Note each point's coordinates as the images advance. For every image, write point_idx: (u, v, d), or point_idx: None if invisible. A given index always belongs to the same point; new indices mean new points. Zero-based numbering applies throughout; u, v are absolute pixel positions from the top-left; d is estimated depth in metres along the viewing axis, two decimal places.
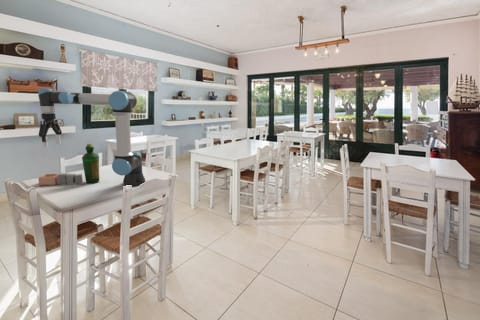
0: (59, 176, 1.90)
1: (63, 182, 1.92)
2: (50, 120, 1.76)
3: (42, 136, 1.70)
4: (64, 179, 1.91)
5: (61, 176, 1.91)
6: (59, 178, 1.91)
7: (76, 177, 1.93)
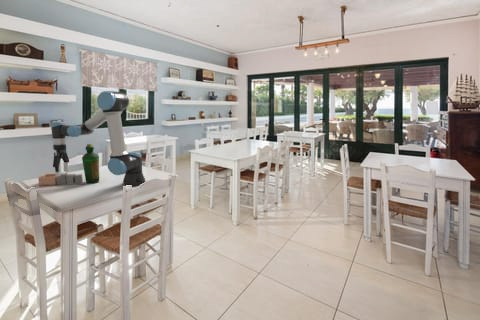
0: (59, 176, 1.90)
1: (63, 182, 1.92)
2: (61, 150, 1.89)
3: (56, 166, 1.83)
4: (64, 179, 1.91)
5: (61, 176, 1.91)
6: (59, 178, 1.91)
7: (76, 177, 1.93)
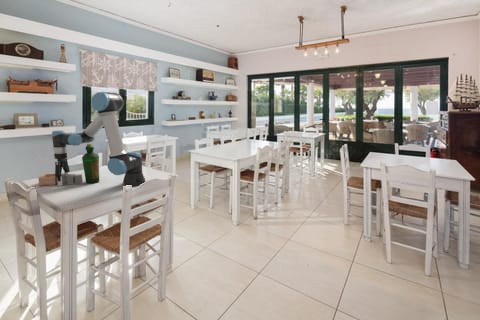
0: None
1: (63, 182, 1.92)
2: (62, 159, 1.90)
3: (58, 176, 1.85)
4: (64, 179, 1.91)
5: None
6: None
7: (76, 177, 1.93)
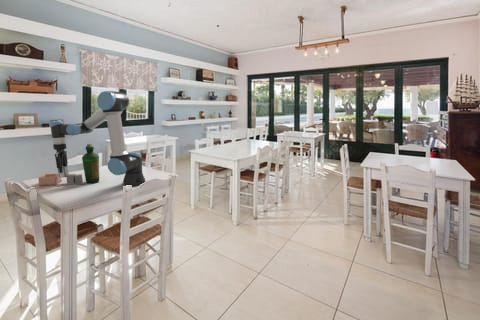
0: None
1: None
2: (61, 150, 1.89)
3: (60, 167, 1.87)
4: (64, 172, 1.90)
5: None
6: None
7: (76, 177, 1.93)
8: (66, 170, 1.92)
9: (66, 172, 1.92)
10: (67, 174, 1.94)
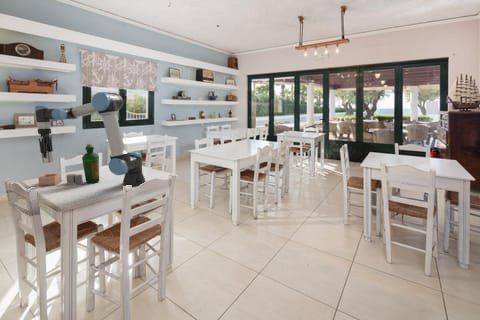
0: None
1: None
2: (46, 135, 1.86)
3: (44, 152, 1.84)
4: (48, 157, 1.87)
5: None
6: None
7: (76, 177, 1.93)
8: (50, 155, 1.89)
9: (50, 157, 1.89)
10: (51, 159, 1.91)
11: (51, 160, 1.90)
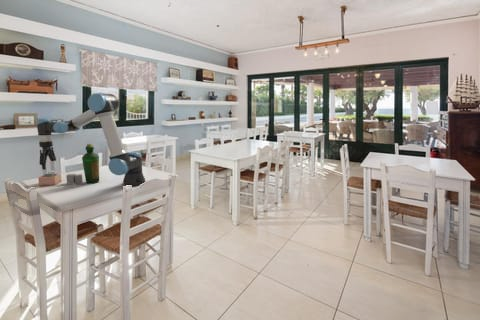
0: (45, 175, 1.89)
1: None
2: (48, 147, 1.88)
3: (43, 164, 1.82)
4: None
5: (47, 175, 1.90)
6: None
7: (76, 177, 1.93)
8: (53, 176, 1.92)
9: None
10: None
11: None
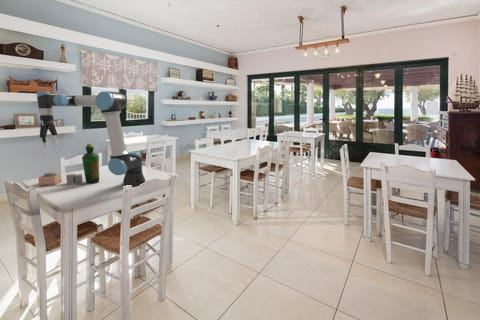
0: (45, 175, 1.89)
1: None
2: (48, 121, 1.85)
3: (43, 137, 1.79)
4: None
5: (47, 175, 1.90)
6: None
7: (76, 177, 1.93)
8: (53, 176, 1.92)
9: None
10: None
11: None
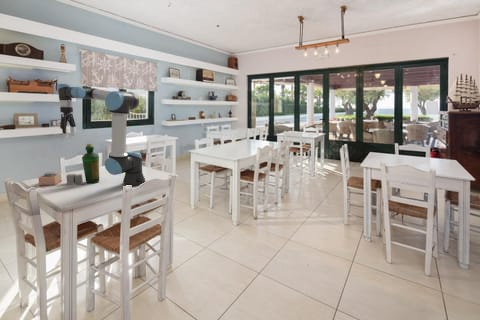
0: (45, 175, 1.89)
1: None
2: (68, 113, 1.91)
3: (63, 128, 1.84)
4: None
5: (47, 175, 1.90)
6: None
7: (76, 177, 1.93)
8: (53, 176, 1.92)
9: None
10: None
11: None
